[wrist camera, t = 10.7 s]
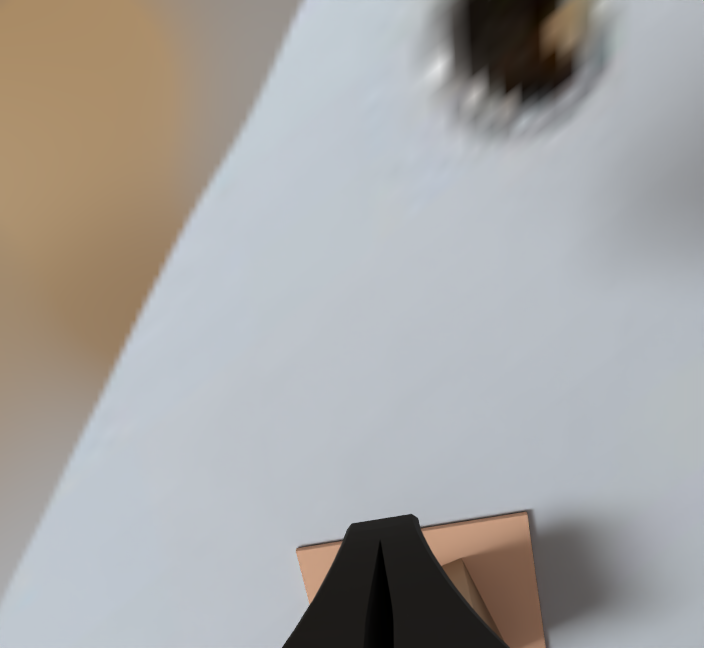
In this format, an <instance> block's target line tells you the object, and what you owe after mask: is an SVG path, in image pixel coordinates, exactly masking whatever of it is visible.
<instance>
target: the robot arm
mask: <svg viewBox="0 0 704 648" xmlns="http://www.w3.org/2000/svg"><path fill="white" fill-rule="evenodd" d="M282 648H510V647H509V646H508V645H507V644H506V643H505V642H504V641H503V640H502V639H501V638H500V637H499V636H498V635H497V634H496V633H495V632H494V631H493V630H492V629H491V628H490V627H489V626H488V625H487V624H486V623H485V622H484V621H483V619H482V618H481V617H480V616H479V615H478V614H477V613H476V612H475V610H474V609H473V608H472V607H471V606H470V604H469V603H468V602H467V601H466V599H465V598H464V597H463V596H462V594H461V593H460V592H459V591H458V589H457V588H456V587H455V585H454V584H453V583H452V581H451V580H450V578H449V577H448V575H447V574H446V572H445V571H444V569H443V568H442V566H441V565H440V563H439V562H438V560H437V559H436V557H435V556H434V554H433V552H432V550H431V549H430V547H429V545H428V543H427V541H426V539H425V537H424V535H423V533H422V530H421V528H420V525H419V520H418V518H417V517H415V516H414V515H413V514H408V515H402V516H396V517H390V518H384V519H377V520H371V521H365V522H359V523H353V524H351V525H350V527H349V528H348V529H347V531H346V534H345V536H344V539H343V541H342V544H341V546H340V548H339V550H338V552H337V555H336V557H335V559H334V561H333V563H332V565H331V567H330V569H329V571H328V573H327V575H326V577H325V578H324V580H323V582H322V584H321V586H320V588H319V590H318V592H317V593H316V595H315V597H314V599H313V600H312V602H311V604H310V605H309V607H308V609H307V610H306V612H305V613H304V615H303V617H302V618H301V620H300V622H299V623H298V625H297V626H296V628H295V629H294V631H293V632H292V634H291V635H290V637H289V638H288V640H287V641H286V643H285V644H284V645H283V647H282Z"/></svg>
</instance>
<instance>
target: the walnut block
mask: <svg viewBox="0 0 704 648" xmlns="http://www.w3.org/2000/svg"><path fill="white" fill-rule="evenodd" d="M442 568H443V569H444V571H445V572H446V574H447V575H448V577H449V578H450V580H451V581H452V583H453V584H454V585H455V587H456V588H457V589H458V591H459V592H460V593H461V594H462V596H463V597H464V598H465V599H466V601H467V602H468V603H469V604H470V606H471V607H472V608H473V609H474V610H475V612H476V613H477V614H478V615H479V616H480V617H481V618H482V619H483V621H484V622H485V623H486V624H487V625H488V626H489V627H490V628H491V629H492V630H493V631H494V632H495V633H496V634H497V635H498V636H499V637H500V638H501V639H502V640H503V638H502V636H501V634H500V632H499V630H498V628H497V626H496V624H495V622H494V620H493V618H492V616H491V614H490V612H489V611H488V609H487V607H486V605H485V603H484V601H483V599H482V597H481V595H480V593H479V591H478V589H477V587H476V585H475V583H474V581H473V579H472V578H471V576H470V574H469V572H468V570H467V568H466V566H465V564H464V562H463V560H462V558H460V559H457V560H455V561H452V562H450V563H447V564H445V565H442ZM503 641H504V640H503Z"/></svg>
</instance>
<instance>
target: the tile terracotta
mask: <svg viewBox="0 0 704 648" xmlns="http://www.w3.org/2000/svg"><path fill="white" fill-rule="evenodd" d="M421 530H422V533H423V535H424V537H425V539H426V541H427V543H428V545H429V547H430V549H431V550H432V552H433V554H434V556H435V557H436V559H437V560H438V562H439V563H440V565H441V566H442V565H445V564H447V563H450V562H452V561H455V560H457V559H460V558H462V560H463V562H464V564H465V566H466V568H467V570H468V572H469V574H470V576H471V578H472V579H473V581H474V583H475V585H476V587H477V589H478V591H479V593H480V595H481V597H482V599H483V601H484V603H485V605H486V607H487V609H488V611H489V612H490V614H491V616H492V618H493V620H494V622H495V624H496V626H497V628H498V630H499V632H500V634H501V636H502V638H503V640H504V642H505V643H506V644H507V645H508V646H509V647H510V648H546V646H545V639H544V632H543V624H542V617H541V610H540V603H539V595H538V588H537V581H536V574H535V566H534V559H533V552H532V545H531V538H530V530H529V523H528V516H527V513H526V512H521V513H515V514H508V515H502V516H496V517H490V518H483V519H477V520H471V521H465V522H458V523H452V524H446V525H439V526H433V527H427V528H421ZM341 544H342V541H339V542H333V543H327V544H320V545H314V546H308V547H301V548H297V549H296V553H297V557H298V561H299V565H300V569H301V573H302V576H303V580H304V584H305V588H306V592H307V596H308V600H309V604H311V602H312V600H313V599H314V597H315V595H316V593H317V592H318V590H319V588H320V586H321V584H322V582H323V580H324V578H325V577H326V575H327V573H328V571H329V569H330V567H331V565H332V563H333V561H334V559H335V557H336V555H337V552H338V550H339V548H340V546H341Z"/></svg>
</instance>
